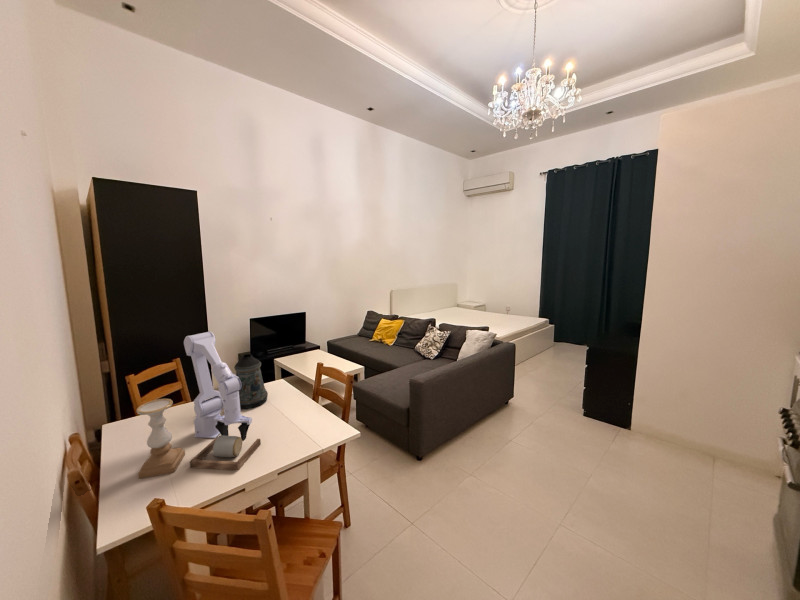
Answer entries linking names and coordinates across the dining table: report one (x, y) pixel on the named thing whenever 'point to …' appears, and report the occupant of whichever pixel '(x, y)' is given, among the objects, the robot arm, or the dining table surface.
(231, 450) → the ceramic mug
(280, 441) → the dining table surface
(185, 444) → the dining table surface
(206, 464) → the walnut dock
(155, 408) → the candle holder
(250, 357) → the beer stein
